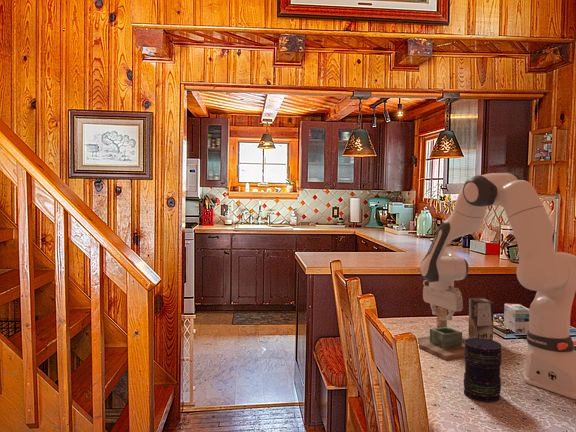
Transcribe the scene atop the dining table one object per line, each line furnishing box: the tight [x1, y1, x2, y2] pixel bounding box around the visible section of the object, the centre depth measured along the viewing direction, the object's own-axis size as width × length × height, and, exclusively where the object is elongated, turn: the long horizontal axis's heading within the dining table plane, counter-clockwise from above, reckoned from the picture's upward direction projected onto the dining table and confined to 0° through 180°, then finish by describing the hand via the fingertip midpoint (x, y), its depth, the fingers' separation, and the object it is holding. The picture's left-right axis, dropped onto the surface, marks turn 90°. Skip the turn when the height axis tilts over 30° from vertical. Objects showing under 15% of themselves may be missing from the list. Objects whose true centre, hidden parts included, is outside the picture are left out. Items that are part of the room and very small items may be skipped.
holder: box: [416, 326, 465, 361], centre depth 176 cm, size 20×18×6 cm
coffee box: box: [468, 297, 495, 341], centre depth 184 cm, size 9×6×16 cm
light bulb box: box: [503, 303, 530, 335], centre depth 196 cm, size 11×7×11 cm, turn 179°
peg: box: [436, 306, 448, 328], centre depth 198 cm, size 4×4×10 cm
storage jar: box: [463, 338, 503, 403], centre depth 135 cm, size 10×10×15 cm
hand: (442, 317), depth 198 cm, fingers open, 7 cm apart
